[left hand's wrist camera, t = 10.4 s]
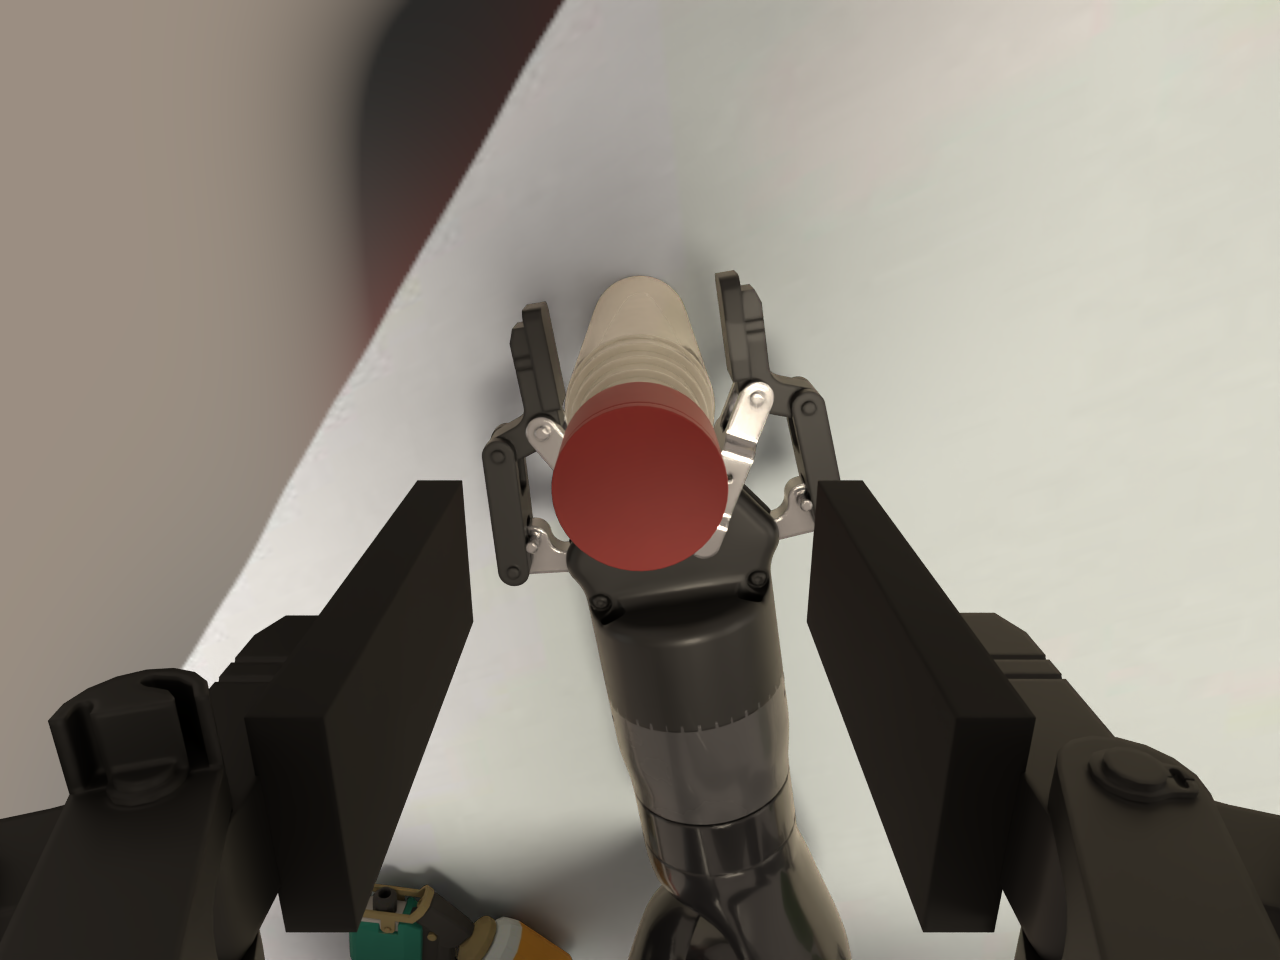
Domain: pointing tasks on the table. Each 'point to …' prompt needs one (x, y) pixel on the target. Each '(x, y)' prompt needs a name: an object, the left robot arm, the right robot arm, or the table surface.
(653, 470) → the cap
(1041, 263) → the table surface
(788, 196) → the table surface
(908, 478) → the table surface
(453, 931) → the spray gun
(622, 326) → the bottle
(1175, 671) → the table surface
